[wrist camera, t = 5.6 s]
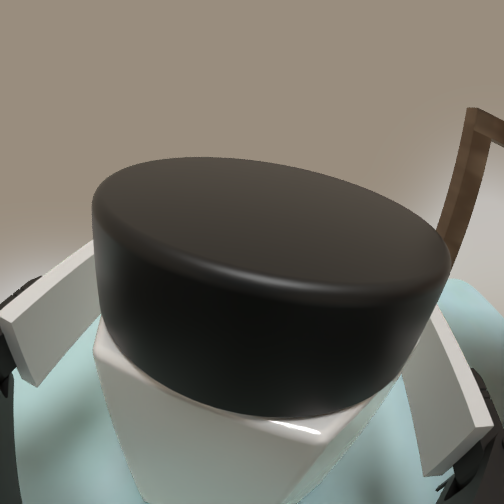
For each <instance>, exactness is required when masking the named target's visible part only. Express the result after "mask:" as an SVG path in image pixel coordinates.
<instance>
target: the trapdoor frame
mask: <svg viewBox="0 0 504 504" xmlns="http://www.w3.org/2000/svg"><path fill="white" fill-rule="evenodd" d="M491 141H492V142H494V143H496V144H498V145H500V146H502V147H504V121H503V120H501V119H499V118H497V117H495V116H493V115H491V114H489V113H487V112H485V111H483V110H481V109H479V108H467V111H466V116H465V122H464V127H463V132H462V137H461V142H460V146H459V151H458V155H457V159H456V163H455V167H454V171H453V175H452V179H451V183H450V186H449V190H448V193H447V197H446V200H445V203H444V207H443V210H442V213H441V217H440V219H439V223H438V226H437V229H436V231H437V232H438V234H439V235H440V236H441V237H442V239H443V240H444V242H445V243H446V245H447V247H448V249H449V252H450V256H451V263H452V264H451V269H452V267H453V264H454V261H455V259H456V257H457V254H458V251H459V249H460V246H461V244H462V241H463V238H464V235H465V233H466V229H467V227H468V224H469V221H470V218H471V215H472V212H473V209H474V205H475V202H476V199H477V195H478V192H479V188H480V185H481V181H482V177H483V173H484V170H485V165H486V161H487V157H488V152H489V148H490V143H491Z"/></svg>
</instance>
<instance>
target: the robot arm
mask: <svg viewBox="0 0 504 504" xmlns="http://www.w3.org/2000/svg"><path fill="white" fill-rule="evenodd" d="M100 314H101V309H100V304H99V296H98V288H97V279H96V269H95V258H94V245H93V240H92V241H90V242H89V243H87V244H86V245H84V246H83V247H81V248H80V249H79V250H77V251H76V252H74V253H73V254H72V255H70V256H69V257H68V258H66V259H65V260H63V261H62V262H61V263H60V264H58V265H57V266H55V267H54V268H53V269H51V270H50V271H49V272H47V273H46V274H45V275H44V276H39V277H37V278H35V279H32V280H30V281H28V282H27V283H26V284H25V285H24V286H22V287H21V288H20V290H19V289H18V290H17V291H16V292H15V293H13V295H11V296H10V297H8V298H7V299H6V300H5V301H3V302H2V303H1V304H0V504H22V500H21V494H20V488H19V481H18V474H17V465H16V455H15V441H14V417H13V394H14V378H13V374H12V371H13V370H14V369H15V368H16V367H17V369H18V371H19V374H20V376H21V378H22V379H23V380H25V381H27V382H28V383H30V384H32V385H33V386H35V387H38V386H39V385H40V384H41V383H42V381H43V380H44V379H45V378H46V376H47V375H48V374H49V373H50V372H51V370H52V369H53V368H54V367H55V366H56V364H57V363H58V362H59V361H60V360H61V358H62V357H63V356H64V355H65V354H66V352H67V351H68V350H69V349H70V348H71V347H72V346H73V344H74V343H75V342H76V341H77V340H78V339H79V337H80V336H81V335H82V334H83V333H84V332H85V331H86V329H87V328H88V327H89V326H90V325H91V324H92V323H93V322H94V321H95V319H96V318H97V317H98V316H99V315H100ZM402 377H403V381H404V385H405V389H406V393H407V397H408V401H409V405H410V410H411V414H412V419H413V423H414V428H415V433H416V438H417V443H418V448H419V454H420V459H421V465H422V471H423V477H429V476H440V475H443V474H444V473H445V472H446V471H448V470H449V469H450V468H451V467H452V466H453V468H454V473H455V474H453V475H452V476H451V477H450V478H448V479H447V480H446V481H445V482H443V483H442V484H441V485H440V486H438V488H437V489H436V490H435V491H437V492H438V491H439V490H440V489H442V488H443V487H444V489H443V491H442V493H441V495H440V497H439V499H438V500H437V502H436V504H504V429H503V427H502V424H501V422H500V419H499V417H498V414H497V412H496V409H495V407H494V404H493V402H492V400H491V399H490V395H489V393H488V391H486V389H487V388H486V386H485V384H484V382H483V380H482V378H481V376H480V375H479V374H478V373H477V372H476V371H475V369H474V368H470V367H469V365H468V363H467V361H466V359H465V357H464V355H463V353H462V350H461V348H460V346H459V344H458V342H457V340H456V339H455V337H454V335H453V333H452V331H451V329H450V327H449V325H448V323H447V321H446V319H445V318H444V316H443V314H442V312H441V310H440V309H439V307H438V305H437V304H436V306H435V308H434V310H433V312H432V314H431V316H430V318H429V320H428V322H427V324H426V326H425V328H424V330H423V332H422V334H421V336H420V341H419V344H418V346H417V347H416V349H415V351H414V353H413V355H412V356H411V358H410V360H409V361H408V363H407V365H406V367H405V368H404V370H403V372H402Z"/></svg>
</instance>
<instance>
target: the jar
mask: <svg viewBox="0 0 504 504" xmlns="http://www.w3.org/2000/svg"><path fill="white" fill-rule="evenodd" d="M92 228H93V245H94V258H95V269H96V279H97V288H98V296H99V304H100V309H101V318H100V322H99V325H98V329H97V334H96V338H95V342H94V346H93V356H94V361H95V365H96V369H97V373H98V376H99V380H100V384H101V388H102V391H103V395H104V398H105V401H106V405H107V408H108V411H109V414H110V417H111V420H112V424H113V427H114V429H115V432H116V435H117V438H118V441H119V444H120V446H121V449H122V452H123V454H124V457H125V459H126V462H127V465H128V467H129V469H130V472H131V474H132V477H133V479H134V481H135V484H136V486H137V488H138V490H139V493H140V495H141V497H142V499H143V500H144V501H146V502H148V503H150V504H297V503H298V502H299V501H301V500H302V499H303V498H304V497H305V496H306V495H308V494H309V493H310V492H311V491H312V490H313V489H314V488H315V487H316V486H317V485H319V484H320V483H321V481H322V480H323V479H324V478H325V477H326V476H327V475H328V474H329V472H330V471H331V470H332V469H333V468H334V467H335V465H336V464H337V463H338V462H339V461H340V459H341V458H342V457H343V456H344V454H345V453H346V452H347V451H348V449H349V448H350V447H351V446H352V444H353V443H354V442H355V440H356V439H357V438H358V437H359V435H360V434H361V433H362V431H363V430H364V428H365V427H366V426H367V424H368V423H369V422H370V420H371V419H372V417H373V416H374V415H375V413H376V412H377V410H378V409H379V407H380V406H381V404H382V403H383V401H384V400H385V398H386V397H387V395H388V394H389V392H390V391H391V389H392V388H393V386H394V385H395V383H396V381H397V380H398V378H399V376H400V375H401V373H402V372H403V370H404V368H405V367H406V365H407V363H408V361H409V360H410V358H411V356H412V355H413V353H414V351H415V349H416V347H417V346H418V344H419V341H420V336H421V334H422V332H423V330H424V328H425V326H426V324H427V322H428V320H429V318H430V316H431V314H432V312H433V310H434V308H435V306H436V304H437V302H438V300H439V298H440V295H441V293H442V291H443V289H444V286H445V284H446V282H447V280H448V277H449V275H450V271H451V264H452V263H451V256H450V252H449V249H448V247H447V245H446V243H445V242H444V240H443V239H442V237H441V236H440V235H439V234H438V232H437V231H436V230H435V229H434V228H433V227H432V226H431V225H429V224H428V223H427V222H426V221H425V220H423V219H422V218H421V217H419V216H418V215H416V214H415V213H413V212H412V211H410V210H409V209H407V208H405V207H403V206H402V205H400V204H398V203H396V202H394V201H392V200H390V199H388V198H386V197H384V196H382V195H380V194H378V193H375V192H373V191H371V190H368V189H366V188H363V187H360V186H358V185H355V184H352V183H349V182H347V181H344V180H340V179H337V178H334V177H331V176H327V175H324V174H320V173H316V172H312V171H308V170H304V169H299V168H295V167H290V166H285V165H280V164H274V163H268V162H261V161H253V160H245V159H234V158H213V157H185V158H172V159H162V160H155V161H149V162H145V163H140V164H136V165H133V166H130V167H127V168H124V169H122V170H120V171H118V172H116V173H114V174H113V175H111V176H109V177H108V178H106V179H105V180H104V181H103V182H102V183H101V184H100V185H99V187H98V188H97V190H96V192H95V194H94V196H93V201H92Z"/></svg>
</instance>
